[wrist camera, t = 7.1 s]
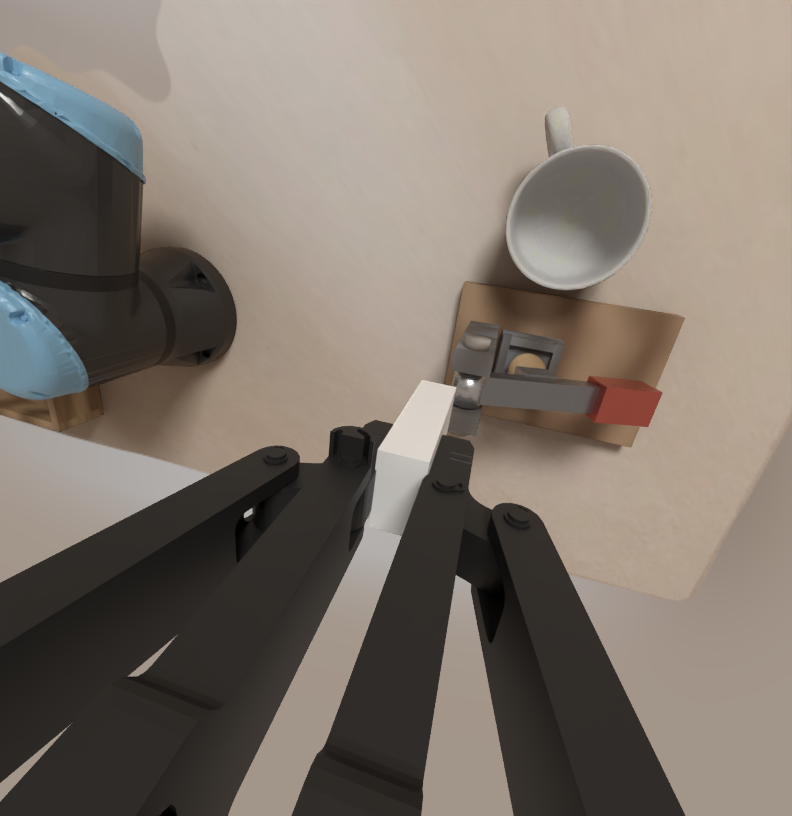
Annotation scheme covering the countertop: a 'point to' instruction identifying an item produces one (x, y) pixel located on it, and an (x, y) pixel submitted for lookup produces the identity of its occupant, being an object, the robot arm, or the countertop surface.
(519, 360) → the walnut
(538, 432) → the countertop surface
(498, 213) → the countertop surface
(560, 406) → the lever
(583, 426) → the press base
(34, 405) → the open wooden box
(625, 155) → the teacup
